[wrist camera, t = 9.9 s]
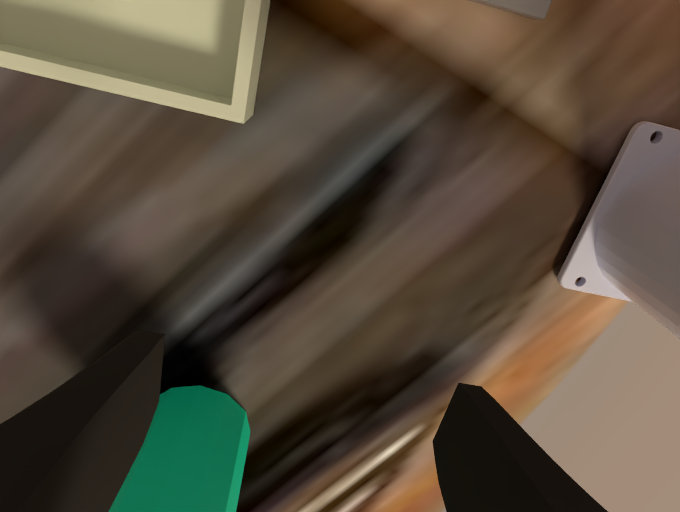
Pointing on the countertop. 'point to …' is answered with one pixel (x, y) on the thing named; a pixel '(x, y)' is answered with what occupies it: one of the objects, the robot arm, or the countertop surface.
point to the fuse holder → (521, 7)
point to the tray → (144, 49)
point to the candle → (189, 455)
